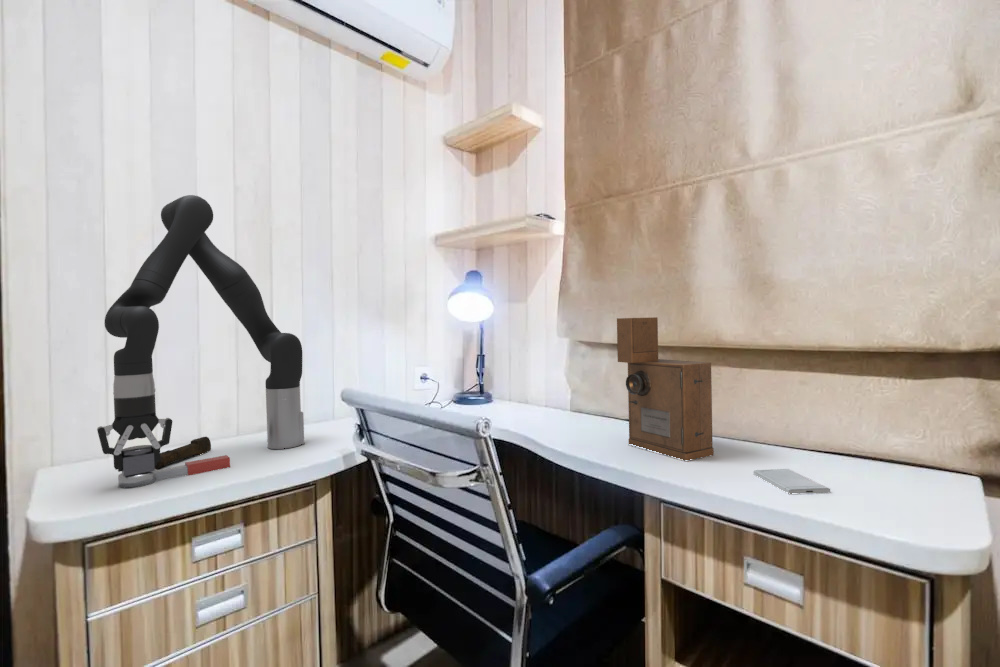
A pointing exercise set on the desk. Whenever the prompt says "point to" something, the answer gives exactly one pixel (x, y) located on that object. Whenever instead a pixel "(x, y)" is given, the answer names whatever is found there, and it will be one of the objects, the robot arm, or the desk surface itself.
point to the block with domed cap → (137, 460)
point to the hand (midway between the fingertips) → (137, 467)
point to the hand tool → (184, 451)
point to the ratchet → (173, 472)
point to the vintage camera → (664, 394)
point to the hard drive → (791, 481)
